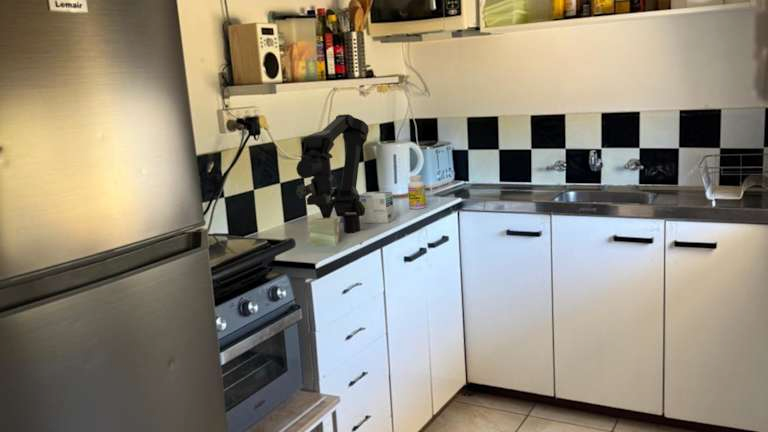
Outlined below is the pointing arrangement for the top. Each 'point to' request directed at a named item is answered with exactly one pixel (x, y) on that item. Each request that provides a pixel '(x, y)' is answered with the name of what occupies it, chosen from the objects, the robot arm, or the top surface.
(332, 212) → the medicine box
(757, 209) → the top surface
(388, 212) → the light bulb box
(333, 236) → the tile block
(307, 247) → the slate mat
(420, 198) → the supplement bottle
